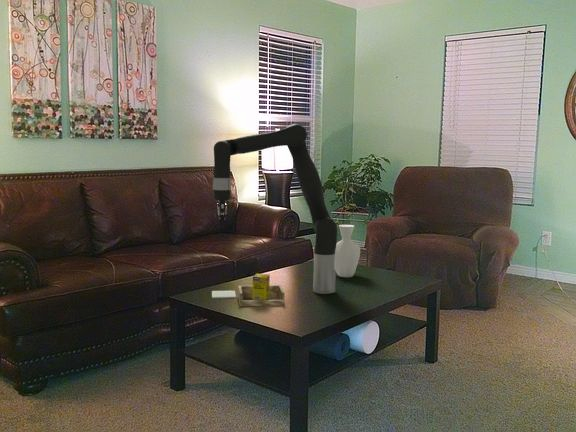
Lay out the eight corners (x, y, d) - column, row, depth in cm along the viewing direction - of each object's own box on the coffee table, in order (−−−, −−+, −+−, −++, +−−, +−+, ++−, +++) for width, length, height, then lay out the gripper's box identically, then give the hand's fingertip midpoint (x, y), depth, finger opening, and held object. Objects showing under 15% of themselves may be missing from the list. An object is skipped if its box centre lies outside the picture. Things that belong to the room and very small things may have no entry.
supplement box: (266, 303, 231) (266, 277, 230) (252, 302, 232) (252, 276, 231) (269, 299, 237) (270, 274, 235) (255, 298, 238) (256, 273, 237)
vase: (361, 279, 276) (362, 228, 273) (331, 278, 277) (333, 227, 273) (357, 272, 291) (359, 224, 287) (329, 271, 291) (331, 223, 288)
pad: (234, 291, 248) (234, 290, 248) (236, 298, 239) (236, 296, 239) (211, 292, 247) (211, 290, 247) (211, 298, 237) (211, 297, 237)
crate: (280, 296, 242) (280, 285, 242) (284, 305, 229) (284, 293, 229) (238, 297, 240) (238, 285, 239) (239, 306, 227) (240, 293, 226)
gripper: (231, 190, 233) (231, 229, 235) (230, 187, 247) (230, 224, 249) (213, 189, 232) (213, 229, 234) (212, 187, 246) (212, 224, 248)
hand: (221, 226), depth 242 cm, fingers open, 8 cm apart
